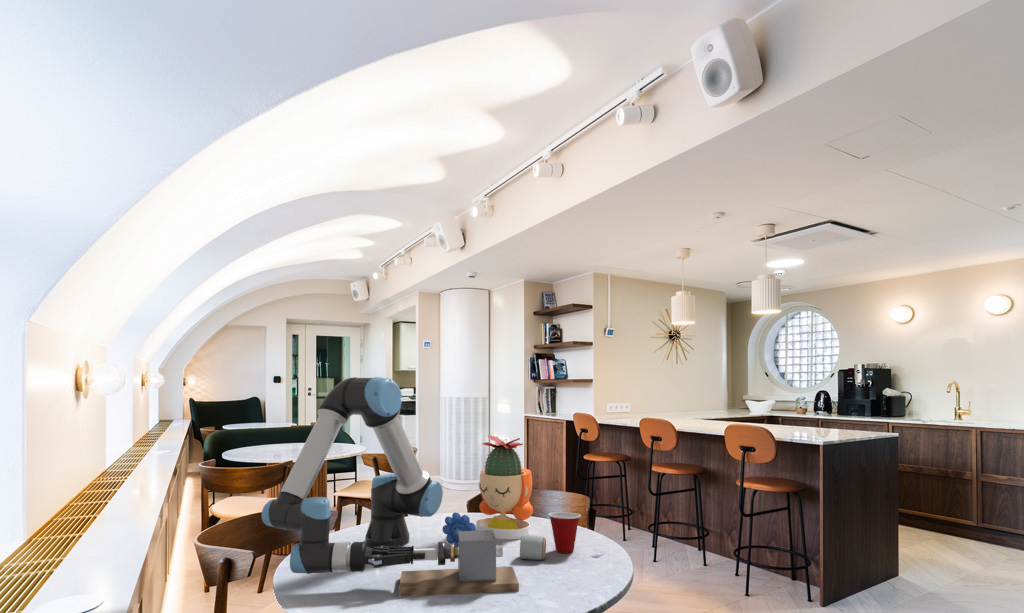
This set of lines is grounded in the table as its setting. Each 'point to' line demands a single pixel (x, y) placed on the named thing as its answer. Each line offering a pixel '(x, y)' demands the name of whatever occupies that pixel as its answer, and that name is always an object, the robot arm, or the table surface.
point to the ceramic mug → (532, 547)
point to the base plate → (453, 582)
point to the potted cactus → (505, 492)
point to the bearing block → (477, 556)
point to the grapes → (456, 527)
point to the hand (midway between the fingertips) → (437, 554)
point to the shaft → (456, 552)
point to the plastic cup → (564, 530)
